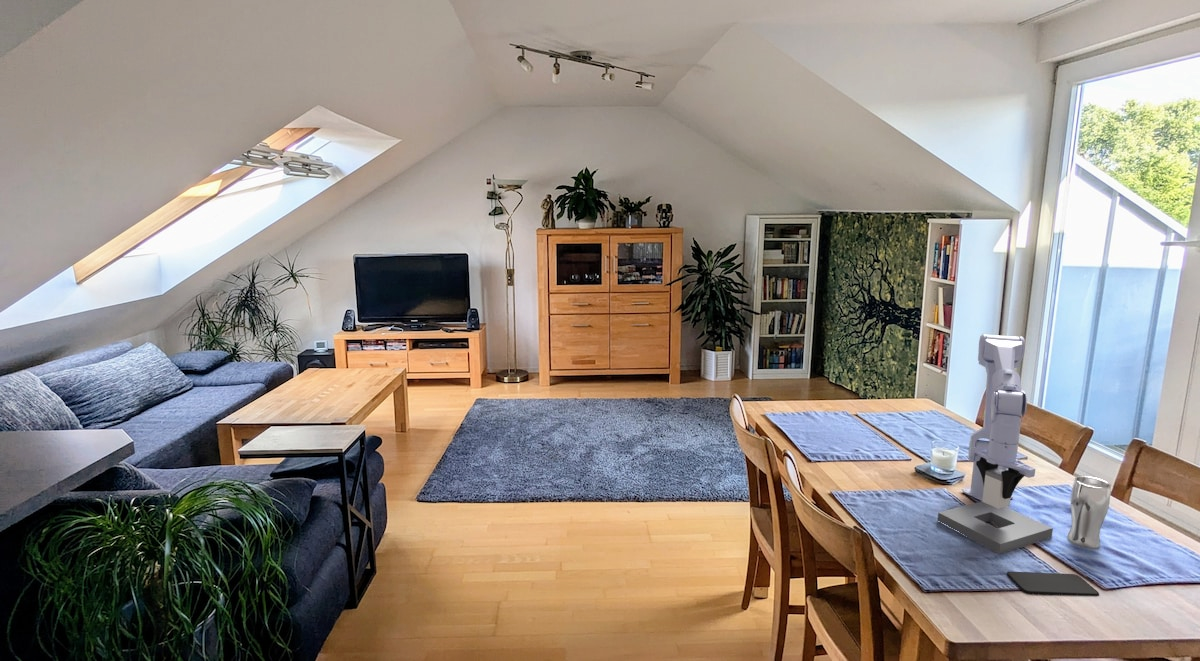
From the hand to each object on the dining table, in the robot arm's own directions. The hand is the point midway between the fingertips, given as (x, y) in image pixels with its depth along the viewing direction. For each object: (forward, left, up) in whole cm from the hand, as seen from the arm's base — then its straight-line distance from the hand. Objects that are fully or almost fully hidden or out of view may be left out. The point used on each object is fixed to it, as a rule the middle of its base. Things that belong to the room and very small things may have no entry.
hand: (997, 493), depth 148 cm
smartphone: (+10, +20, -10) cm, 24 cm away
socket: (0, 0, -9) cm, 9 cm away
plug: (0, 0, -2) cm, 3 cm away
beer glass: (-14, +12, -10) cm, 21 cm away
